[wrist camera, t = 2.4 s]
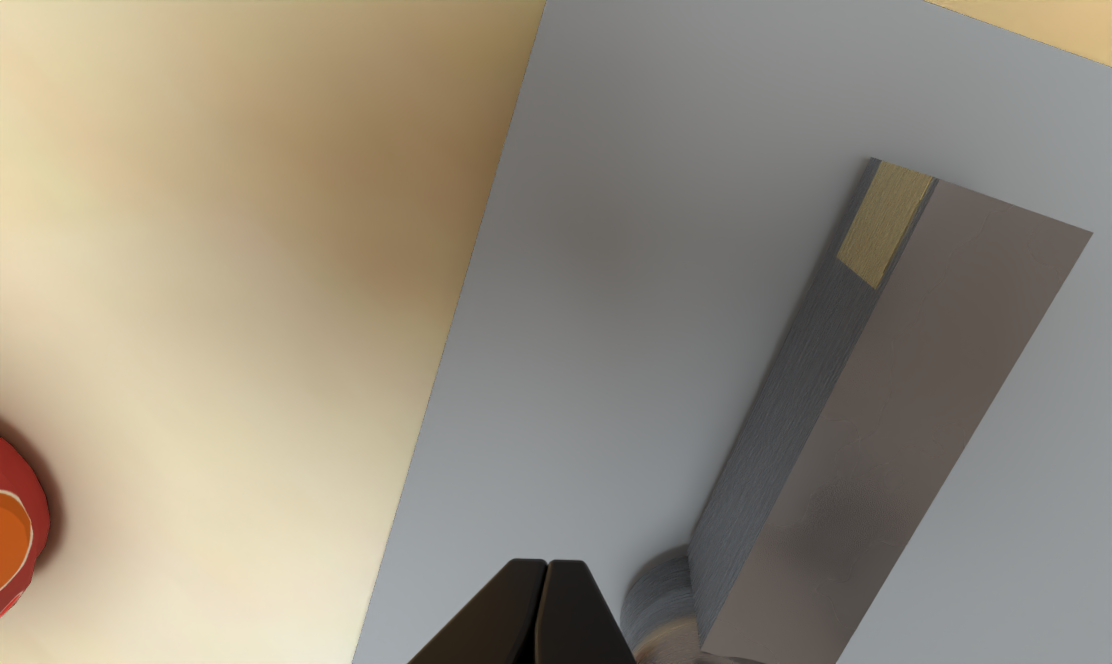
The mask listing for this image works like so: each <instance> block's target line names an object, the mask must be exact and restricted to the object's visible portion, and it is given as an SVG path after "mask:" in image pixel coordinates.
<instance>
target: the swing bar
mask: <svg viewBox="0 0 1112 664" xmlns="http://www.w3.org/2000/svg"><path fill="white" fill-rule="evenodd" d="M1092 235H1093V232H1090V231H1087V230H1085V229H1082V228H1079V227H1076V226H1073V225H1070V224H1067V223H1065V222H1062V221H1059V220H1056V219H1053V218H1050V217H1047V216H1045V215H1042V214H1039V213H1036V212H1033V211H1030V210H1027V209H1025V208H1022V207H1019V206H1016V205H1013V204H1010V203H1007V202H1004V201H1002V200H999V199H996V198H993V197H990V196H987V195H984V194H982V193H979V192H976V191H973V190H970V189H967V188H964V187H962V186H959V185H956V184H953V183H950V182H947V181H944V180H942V179H939V178H935V177H932V176H929V175H926V174H923V173H920V172H917V171H914V170H911V169H907V168H904V167H901V166H898V165H895V164H892V163H889V162H886V161H882V160H879V159H876V158H873V157H871V159H870V161H869V163H868V165H867V167H866V169H865V171H864V173H863V176H862V178H861V180H860V182H859V184H858V186H857V188H856V190H855V193H854V195H853V197H852V199H851V201H850V203H849V205H848V207H847V210H846V212H845V214H844V216H843V218H842V220H841V222H840V224H839V227H838V229H837V231H836V233H835V235H834V237H833V239H832V241H831V244H830V246H829V248H828V250H827V252H826V254H825V256H824V258H823V261H822V263H821V265H820V267H819V269H818V271H817V273H816V275H815V277H814V280H813V282H812V284H811V286H810V288H809V290H808V292H807V294H806V297H805V299H804V301H803V303H802V305H801V307H800V309H799V311H798V314H797V316H796V318H795V320H794V322H793V324H792V326H791V328H790V331H789V333H788V335H787V337H786V339H785V341H784V343H783V345H782V348H781V350H780V352H779V354H778V356H777V358H776V360H775V362H774V365H773V367H772V369H771V371H770V373H769V375H768V377H767V379H766V382H765V384H764V386H763V388H762V390H761V392H760V394H759V396H758V399H757V401H756V403H755V405H754V407H753V409H752V411H751V413H750V416H749V418H748V420H747V422H746V424H745V426H744V428H743V430H742V433H741V435H740V437H739V439H738V441H737V443H736V445H735V447H734V450H733V452H732V454H731V456H730V458H729V460H728V462H727V464H726V467H725V469H724V471H723V473H722V475H721V477H720V479H719V481H718V484H717V486H716V488H715V490H714V492H713V494H712V496H711V498H710V501H709V503H708V505H707V507H706V509H705V511H704V513H703V515H702V518H701V520H700V522H699V524H698V526H697V528H696V530H695V532H694V535H693V537H692V539H691V541H690V543H689V545H688V547H687V554H688V555H687V556H681V557H678V558H674V559H671V560H669V561H666V562H664V563H661V564H659V565H658V566H656V567H654V568H653V569H651V570H649V571H648V572H647V573H646V574H644V575H643V576H642V577H641V578H640V579H639V580H638V581H637V582H636V583H635V584H634V585H633V587H632V588H631V589H630V591H629V592H628V594H627V596H626V598H625V600H624V603H623V606H622V609H621V614H620V630H621V632H622V634H623V636H624V638H625V640H626V642H627V644H628V646H629V648H630V650H631V652H632V654H633V656H634V658H635V660H636V662H637V664H836V662H837V661H838V659H839V657H840V656H841V654H842V652H843V651H844V649H845V647H846V646H847V644H848V642H849V641H850V639H851V637H852V636H853V634H854V632H855V631H856V629H857V627H858V626H859V624H860V622H861V621H862V619H863V617H864V616H865V614H866V612H867V611H868V609H869V607H870V606H871V604H872V602H873V601H874V599H875V597H876V596H877V594H878V592H879V591H880V589H881V587H882V586H883V584H884V582H885V581H886V579H887V577H888V576H889V574H890V572H891V571H892V569H893V567H894V566H895V564H896V562H897V561H898V559H899V557H900V555H901V554H902V552H903V550H904V549H905V547H906V545H907V544H908V542H909V540H910V539H911V537H912V535H913V534H914V532H915V530H916V529H917V527H918V525H919V524H920V522H921V520H922V519H923V517H924V515H925V514H926V512H927V510H928V509H929V507H930V505H931V504H932V502H933V500H934V499H935V497H936V495H937V494H938V492H939V490H940V489H941V487H942V485H943V484H944V482H945V480H946V479H947V477H948V475H949V474H950V472H951V470H952V469H953V467H954V465H955V464H956V462H957V460H958V459H959V457H960V455H961V454H962V452H963V450H964V449H965V447H966V445H967V444H968V442H969V440H970V439H971V437H972V435H973V434H974V432H975V430H976V429H977V427H978V425H979V424H980V422H981V420H982V419H983V417H984V415H985V414H986V412H987V410H988V409H989V407H990V405H991V404H992V402H993V400H994V399H995V397H996V395H997V394H998V392H999V390H1000V388H1001V387H1002V385H1003V383H1004V382H1005V380H1006V378H1007V377H1008V375H1009V373H1010V372H1011V370H1012V368H1013V367H1014V365H1015V363H1016V362H1017V360H1018V358H1019V357H1020V355H1021V353H1022V352H1023V350H1024V348H1025V347H1026V345H1027V343H1028V342H1029V340H1030V338H1031V337H1032V335H1033V333H1034V332H1035V330H1036V328H1037V327H1038V325H1039V323H1040V322H1041V320H1042V318H1043V317H1044V315H1045V313H1046V312H1047V310H1048V308H1049V307H1050V305H1051V303H1052V302H1053V300H1054V298H1055V297H1056V295H1057V293H1058V292H1059V290H1060V288H1061V287H1062V285H1063V283H1064V282H1065V280H1066V278H1067V277H1068V275H1069V273H1070V272H1071V270H1072V268H1073V267H1074V265H1075V263H1076V262H1077V260H1078V258H1079V257H1080V255H1081V253H1082V252H1083V250H1084V248H1085V247H1086V245H1087V243H1088V242H1089V240H1090V238H1091V237H1092Z"/></svg>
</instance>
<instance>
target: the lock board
mask: <svg viewBox="0 0 1112 664" xmlns="http://www.w3.org/2000/svg"><path fill="white" fill-rule="evenodd" d="M871 157H873V158H876V159H879V160H882V161H886V162H889V163H892V164H895V165H898V166H901V167H904V168H907V169H911V170H914V171H917V172H920V173H923V174H926V175H929V176H932V177H935V178H939V179H942V180H944V181H947V182H950V183H953V184H956V185H959V186H962V187H964V188H967V189H970V190H973V191H976V192H979V193H982V194H984V195H987V196H990V197H993V198H996V199H999V200H1002V201H1004V202H1007V203H1010V204H1013V205H1016V206H1019V207H1022V208H1025V209H1027V210H1030V211H1033V212H1036V213H1039V214H1042V215H1045V216H1047V217H1050V218H1053V219H1056V220H1059V221H1062V222H1065V223H1067V224H1070V225H1073V226H1076V227H1079V228H1082V229H1085V230H1087V231H1090V232H1093V235H1092V237H1091V238H1090V240H1089V242H1088V243H1087V245H1086V247H1085V248H1084V250H1083V252H1082V253H1081V255H1080V257H1079V258H1078V260H1077V262H1076V263H1075V265H1074V267H1073V268H1072V270H1071V272H1070V273H1069V275H1068V277H1067V278H1066V280H1065V282H1064V283H1063V285H1062V287H1061V288H1060V290H1059V292H1058V293H1057V295H1056V297H1055V298H1054V300H1053V302H1052V303H1051V305H1050V307H1049V308H1048V310H1047V312H1046V313H1045V315H1044V317H1043V318H1042V320H1041V322H1040V323H1039V325H1038V327H1037V328H1036V330H1035V332H1034V333H1033V335H1032V337H1031V338H1030V340H1029V342H1028V343H1027V345H1026V347H1025V348H1024V350H1023V352H1022V353H1021V355H1020V357H1019V358H1018V360H1017V362H1016V363H1015V365H1014V367H1013V368H1012V370H1011V372H1010V373H1009V375H1008V377H1007V378H1006V380H1005V382H1004V383H1003V385H1002V387H1001V388H1000V390H999V392H998V394H997V395H996V397H995V399H994V400H993V402H992V404H991V405H990V407H989V409H988V410H987V412H986V414H985V415H984V417H983V419H982V420H981V422H980V424H979V425H978V427H977V429H976V430H975V432H974V434H973V435H972V437H971V439H970V440H969V442H968V444H967V445H966V447H965V449H964V450H963V452H962V454H961V455H960V457H959V459H958V460H957V462H956V464H955V465H954V467H953V469H952V470H951V472H950V474H949V475H948V477H947V479H946V480H945V482H944V484H943V485H942V487H941V489H940V490H939V492H938V494H937V495H936V497H935V499H934V500H933V502H932V504H931V505H930V507H929V509H928V510H927V512H926V514H925V515H924V517H923V519H922V520H921V522H920V524H919V525H918V527H917V529H916V530H915V532H914V534H913V535H912V537H911V539H910V540H909V542H908V544H907V545H906V547H905V549H904V550H903V552H902V554H901V555H900V557H899V559H898V561H897V562H896V564H895V566H894V567H893V569H892V571H891V572H890V574H889V576H888V577H887V579H886V581H885V582H884V584H883V586H882V587H881V589H880V591H879V592H878V594H877V596H876V597H875V599H874V601H873V602H872V604H871V606H870V607H869V609H868V611H867V612H866V614H865V616H864V617H863V619H862V621H861V622H860V624H859V626H858V627H857V629H856V631H855V632H854V634H853V636H852V637H851V639H850V641H849V642H848V644H847V646H846V647H845V649H844V651H843V652H842V654H841V656H840V657H839V659H838V661H837V662H836V664H1112V67H1110V66H1107V65H1104V64H1101V63H1098V62H1095V61H1093V60H1090V59H1087V58H1084V57H1081V56H1079V55H1076V54H1073V53H1070V52H1067V51H1065V50H1062V49H1059V48H1056V47H1053V46H1050V45H1048V44H1045V43H1042V42H1039V41H1036V40H1034V39H1031V38H1028V37H1025V36H1022V35H1020V34H1017V33H1014V32H1011V31H1008V30H1005V29H1003V28H1000V27H997V26H994V25H991V24H989V23H986V22H983V21H980V20H977V19H974V18H972V17H969V16H966V15H963V14H960V13H958V12H955V11H952V10H949V9H946V8H944V7H941V6H938V5H935V4H932V3H929V2H927V1H924V0H546V3H545V7H544V10H543V13H542V17H541V20H540V24H539V27H538V31H537V34H536V37H535V41H534V44H533V48H532V51H531V54H530V58H529V61H528V65H527V68H526V71H525V75H524V78H523V82H522V85H521V88H520V92H519V95H518V99H517V102H516V106H515V109H514V112H513V116H512V119H511V123H510V126H509V129H508V133H507V136H506V140H505V143H504V146H503V150H502V153H501V157H500V160H499V163H498V167H497V170H496V174H495V177H494V180H493V184H492V187H491V191H490V194H489V198H488V201H487V204H486V208H485V211H484V215H483V218H482V221H481V225H480V228H479V232H478V235H477V238H476V242H475V245H474V249H473V252H472V255H471V259H470V262H469V266H468V269H467V273H466V276H465V279H464V283H463V286H462V290H461V293H460V296H459V300H458V303H457V307H456V310H455V313H454V317H453V320H452V324H451V327H450V330H449V334H448V337H447V341H446V344H445V348H444V351H443V354H442V358H441V361H440V365H439V368H438V371H437V375H436V378H435V382H434V385H433V388H432V392H431V395H430V399H429V402H428V405H427V409H426V412H425V416H424V419H423V422H422V426H421V429H420V433H419V436H418V440H417V443H416V446H415V450H414V453H413V457H412V460H411V463H410V467H409V470H408V474H407V477H406V480H405V484H404V487H403V491H402V494H401V497H400V501H399V504H398V508H397V511H396V515H395V518H394V521H393V525H392V528H391V532H390V535H389V538H388V542H387V545H386V549H385V552H384V555H383V559H382V562H381V566H380V569H379V572H378V576H377V579H376V583H375V586H374V590H373V593H372V596H371V600H370V603H369V607H368V610H367V613H366V617H365V620H364V624H363V627H362V630H361V634H360V637H359V641H358V644H357V647H356V651H355V654H354V658H353V661H352V664H407V663H408V662H409V661H410V660H411V659H412V658H413V657H414V656H415V655H416V654H417V653H418V652H419V651H420V650H421V649H422V648H423V647H424V646H425V645H426V644H427V643H428V642H429V641H430V640H431V639H432V638H433V637H434V636H435V635H436V634H437V633H438V632H439V631H440V630H441V629H442V628H443V627H444V626H445V625H446V624H447V623H448V622H449V621H450V620H451V619H452V618H453V617H454V616H455V615H456V614H457V613H458V612H459V611H460V610H461V608H462V607H463V606H464V605H465V604H466V603H467V602H468V601H469V600H470V599H471V598H472V597H473V596H474V595H475V594H476V593H477V592H478V591H479V590H480V589H481V588H482V587H483V586H484V585H485V584H486V583H487V582H488V581H489V580H490V579H491V578H492V577H493V576H494V575H495V574H496V573H497V572H498V571H499V570H500V569H501V568H502V567H503V566H504V565H505V564H506V563H507V562H508V561H510V560H511V559H513V558H530V559H544V560H545V561H546V562H547V564H549V562H550V561H552V560H554V559H566V560H583V561H584V562H585V563H586V564H587V566H588V567H589V569H590V571H591V573H592V575H593V577H594V579H595V581H596V583H597V585H598V587H599V589H600V591H601V593H602V595H603V597H604V599H605V601H606V603H607V605H608V607H609V609H610V611H611V613H612V615H613V617H614V619H615V620H616V622H617V624H618V626H619V628H620V614H621V609H622V606H623V603H624V600H625V598H626V596H627V594H628V592H629V591H630V589H631V588H632V587H633V585H634V584H635V583H636V582H637V581H638V580H639V579H640V578H641V577H642V576H643V575H644V574H646V573H647V572H648V571H649V570H651V569H653V568H654V567H656V566H658V565H659V564H661V563H664V562H666V561H669V560H671V559H674V558H678V557H681V556H687V555H688V554H687V547H688V545H689V543H690V541H691V539H692V537H693V535H694V532H695V530H696V528H697V526H698V524H699V522H700V520H701V518H702V515H703V513H704V511H705V509H706V507H707V505H708V503H709V501H710V498H711V496H712V494H713V492H714V490H715V488H716V486H717V484H718V481H719V479H720V477H721V475H722V473H723V471H724V469H725V467H726V464H727V462H728V460H729V458H730V456H731V454H732V452H733V450H734V447H735V445H736V443H737V441H738V439H739V437H740V435H741V433H742V430H743V428H744V426H745V424H746V422H747V420H748V418H749V416H750V413H751V411H752V409H753V407H754V405H755V403H756V401H757V399H758V396H759V394H760V392H761V390H762V388H763V386H764V384H765V382H766V379H767V377H768V375H769V373H770V371H771V369H772V367H773V365H774V362H775V360H776V358H777V356H778V354H779V352H780V350H781V348H782V345H783V343H784V341H785V339H786V337H787V335H788V333H789V331H790V328H791V326H792V324H793V322H794V320H795V318H796V316H797V314H798V311H799V309H800V307H801V305H802V303H803V301H804V299H805V297H806V294H807V292H808V290H809V288H810V286H811V284H812V282H813V280H814V277H815V275H816V273H817V271H818V269H819V267H820V265H821V263H822V261H823V258H824V256H825V254H826V252H827V250H828V248H829V246H830V244H831V241H832V239H833V237H834V235H835V233H836V231H837V229H838V227H839V224H840V222H841V220H842V218H843V216H844V214H845V212H846V210H847V207H848V205H849V203H850V201H851V199H852V197H853V195H854V193H855V190H856V188H857V186H858V184H859V182H860V180H861V178H862V176H863V173H864V171H865V169H866V167H867V165H868V163H869V161H870V159H871Z"/></svg>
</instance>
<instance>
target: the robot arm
mask: <svg viewBox="0 0 1112 664" xmlns="http://www.w3.org/2000/svg"><path fill="white" fill-rule="evenodd" d="M407 664H637V662H636V660H635V658H634V656H633V654H632V652H631V650H630V648H629V646H628V644H627V642H626V640H625V638H624V636H623V634H622V632H621V630H620V628H619V626H618V624H617V622H616V620H615V619H614V617H613V615H612V613H611V611H610V609H609V607H608V605H607V603H606V601H605V599H604V597H603V595H602V593H601V591H600V589H599V587H598V585H597V583H596V581H595V579H594V577H593V575H592V573H591V571H590V569H589V567H588V566H587V564H586V563H585V562H584V561H583V560H566V559H554V560H552V561H550V562H549V564H547V562H546V561H545V560H544V559H530V558H513V559H511V560H510V561H508V562H507V563H506V564H505V565H504V566H503V567H502V568H501V569H500V570H499V571H498V572H497V573H496V574H495V575H494V576H493V577H492V578H491V579H490V580H489V581H488V582H487V583H486V584H485V585H484V586H483V587H482V588H481V589H480V590H479V591H478V592H477V593H476V594H475V595H474V596H473V597H472V598H471V599H470V600H469V601H468V602H467V603H466V604H465V605H464V606H463V607H462V608H461V610H460V611H459V612H458V613H457V614H456V615H455V616H454V617H453V618H452V619H451V620H450V621H449V622H448V623H447V624H446V625H445V626H444V627H443V628H442V629H441V630H440V631H439V632H438V633H437V634H436V635H435V636H434V637H433V638H432V639H431V640H430V641H429V642H428V643H427V644H426V645H425V646H424V647H423V648H422V649H421V650H420V651H419V652H418V653H417V654H416V655H415V656H414V657H413V658H412V659H411V660H410V661H409V662H408V663H407Z"/></svg>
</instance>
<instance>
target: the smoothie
mask: <svg viewBox="0 0 1112 664" xmlns="http://www.w3.org/2000/svg"><path fill="white" fill-rule="evenodd" d="M49 527H50V517H49V512H48V506H47V500H46V495H45V493H44V491H43V489H42V487H41V485H40V483H39V481H38V479H37V477H36V475H35V473H34V471H33V469H32V468H31V467H30V466H29V465H28V464H27V462H26V461H25V460H24V459H23V458H22V457H21V456H20V454H19V453H18V452H17V451H16V450H15V449H14V448H13V446H12V445H11V444H10V443H8V442H7V441H5V440H4V439H3V438H1V437H0V618H1V617H2V616H3V615H4V614H5V613H6V612H7V611H8V610H9V609H10V608H11V607H12V606H13V605H15V603H16V602H17V600H18V599H19V598H20V596H21V595H22V594H23V592H24V591H25V590H26V588H27V587H28V586H29V584H30V583H31V579H32V574H33V569H34V565H35V560H36V558H37V557H38V555H39V554H40V553H41V551H42V550H43V548H44V547H45V546H46V541H47V536H48V532H49Z"/></svg>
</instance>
